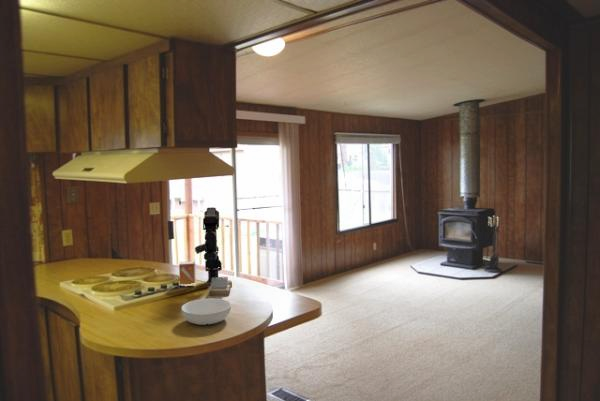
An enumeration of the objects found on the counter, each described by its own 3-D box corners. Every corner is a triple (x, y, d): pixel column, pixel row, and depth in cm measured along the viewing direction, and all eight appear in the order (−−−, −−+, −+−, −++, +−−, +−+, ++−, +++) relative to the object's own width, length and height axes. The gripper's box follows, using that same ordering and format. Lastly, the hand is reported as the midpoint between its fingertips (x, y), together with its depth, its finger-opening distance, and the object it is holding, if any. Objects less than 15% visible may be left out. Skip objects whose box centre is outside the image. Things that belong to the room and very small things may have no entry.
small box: (179, 287, 252) (178, 264, 250) (181, 284, 258) (180, 261, 257) (194, 287, 253) (194, 263, 252) (195, 284, 259) (195, 261, 258)
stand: (211, 290, 245) (211, 285, 245) (230, 289, 246) (230, 284, 246) (209, 296, 236) (209, 290, 235) (229, 295, 236) (229, 289, 236)
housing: (212, 286, 243) (212, 276, 242) (228, 285, 243) (227, 276, 243) (211, 288, 238) (211, 278, 238) (227, 288, 239) (227, 278, 238)
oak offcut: (223, 286, 254) (223, 280, 254) (230, 285, 256) (230, 280, 255) (224, 288, 251) (224, 282, 250) (232, 287, 252) (231, 281, 252)
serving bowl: (173, 329, 190) (173, 312, 190) (192, 312, 211) (192, 297, 210) (223, 331, 187) (222, 314, 187) (237, 314, 208) (236, 299, 207)
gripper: (197, 236, 253) (198, 264, 255) (193, 243, 235) (194, 273, 237) (218, 235, 255) (219, 263, 256) (215, 242, 236) (216, 272, 238)
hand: (212, 268), depth 247 cm, fingers open, 9 cm apart
